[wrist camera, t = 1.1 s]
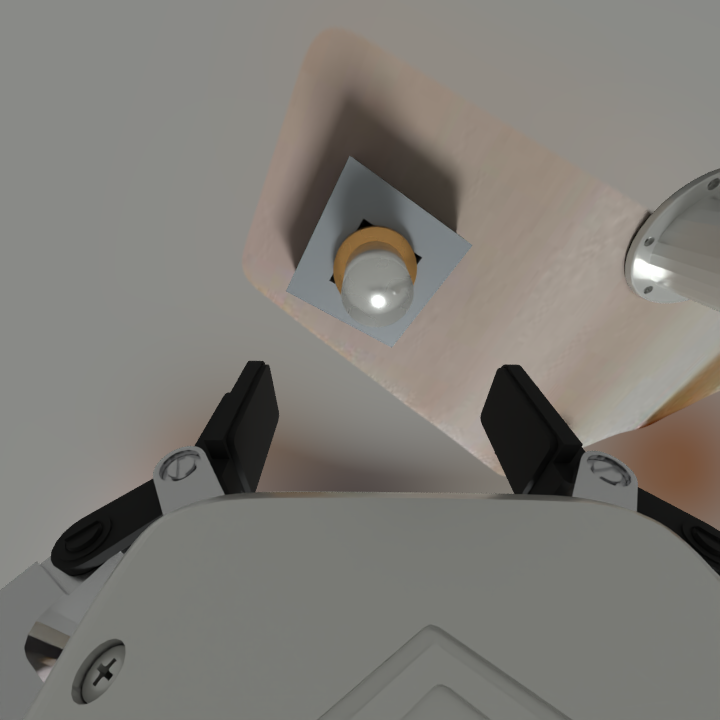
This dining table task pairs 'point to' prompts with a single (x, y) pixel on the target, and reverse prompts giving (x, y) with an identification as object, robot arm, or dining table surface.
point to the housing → (367, 208)
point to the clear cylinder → (375, 275)
